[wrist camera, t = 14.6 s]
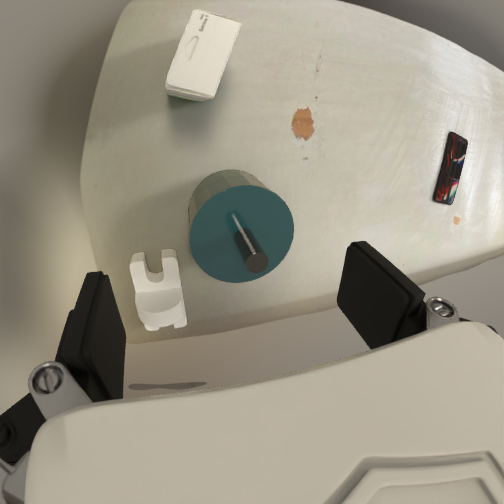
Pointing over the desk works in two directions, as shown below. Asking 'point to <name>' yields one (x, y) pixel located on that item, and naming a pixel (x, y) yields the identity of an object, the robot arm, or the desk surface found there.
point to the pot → (218, 187)
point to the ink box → (201, 56)
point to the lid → (241, 233)
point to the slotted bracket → (158, 292)
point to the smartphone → (451, 169)
